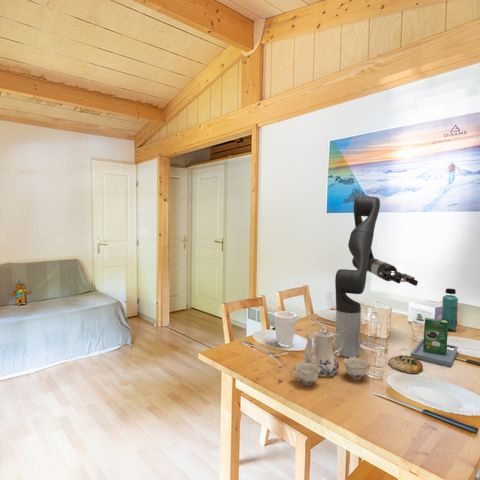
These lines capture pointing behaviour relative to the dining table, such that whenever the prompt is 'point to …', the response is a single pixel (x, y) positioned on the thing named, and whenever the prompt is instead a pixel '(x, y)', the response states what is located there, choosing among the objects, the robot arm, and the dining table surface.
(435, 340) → the coffee box
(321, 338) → the chinaware
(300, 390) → the dining table surface
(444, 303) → the beverage bottle
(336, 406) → the dining table surface
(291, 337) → the foam cup
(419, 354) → the dish
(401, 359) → the bread roll
